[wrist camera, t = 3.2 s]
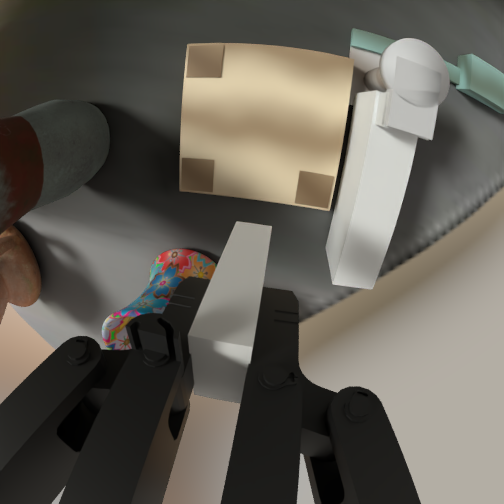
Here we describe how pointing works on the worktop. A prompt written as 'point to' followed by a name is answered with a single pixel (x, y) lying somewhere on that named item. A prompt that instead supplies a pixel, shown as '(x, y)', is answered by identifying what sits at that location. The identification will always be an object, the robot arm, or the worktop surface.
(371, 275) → the hinged leg
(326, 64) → the stool seat
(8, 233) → the ceramic jug
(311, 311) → the worktop surface
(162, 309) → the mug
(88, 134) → the bottle
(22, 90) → the worktop surface
